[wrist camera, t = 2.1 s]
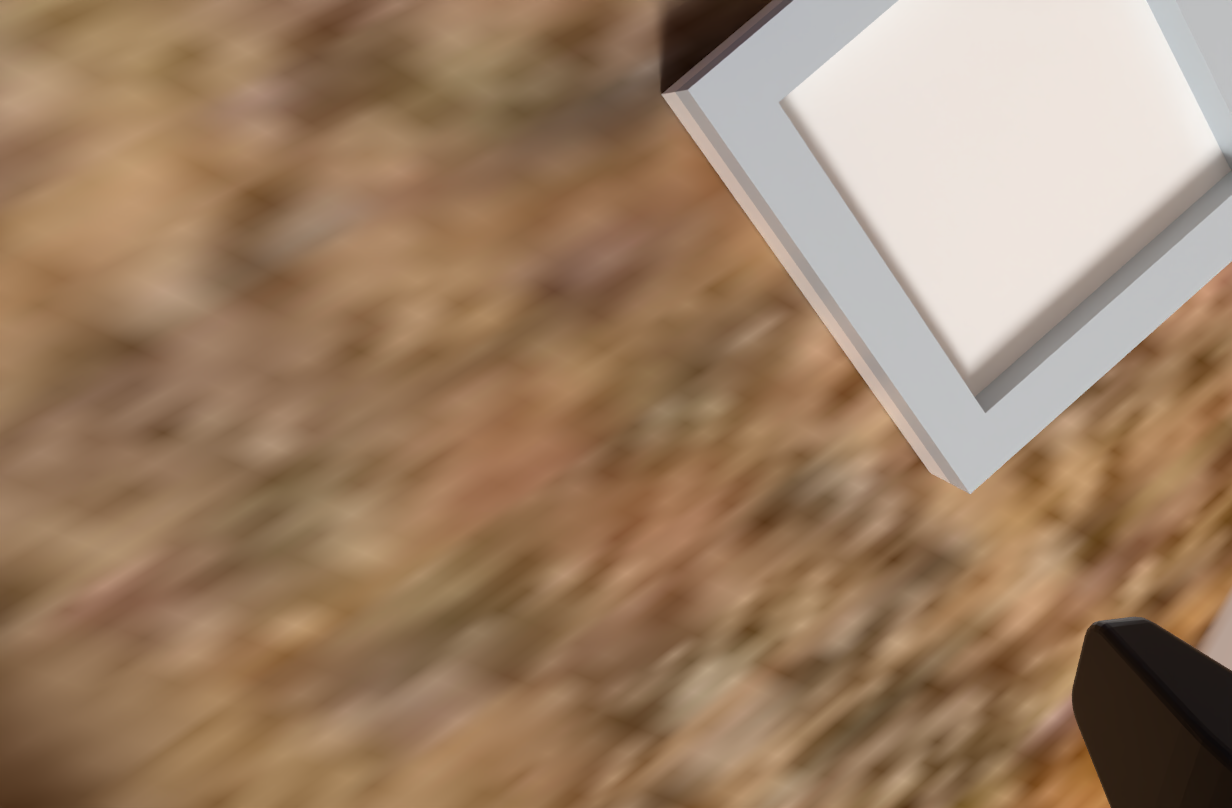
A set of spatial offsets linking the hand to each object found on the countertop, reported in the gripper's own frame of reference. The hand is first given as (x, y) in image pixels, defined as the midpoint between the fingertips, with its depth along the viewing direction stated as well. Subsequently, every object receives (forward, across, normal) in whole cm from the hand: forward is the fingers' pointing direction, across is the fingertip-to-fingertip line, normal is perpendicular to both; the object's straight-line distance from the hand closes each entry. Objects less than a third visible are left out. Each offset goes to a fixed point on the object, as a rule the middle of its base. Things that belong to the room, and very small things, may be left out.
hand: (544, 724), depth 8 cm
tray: (+14, -10, +1) cm, 17 cm away
